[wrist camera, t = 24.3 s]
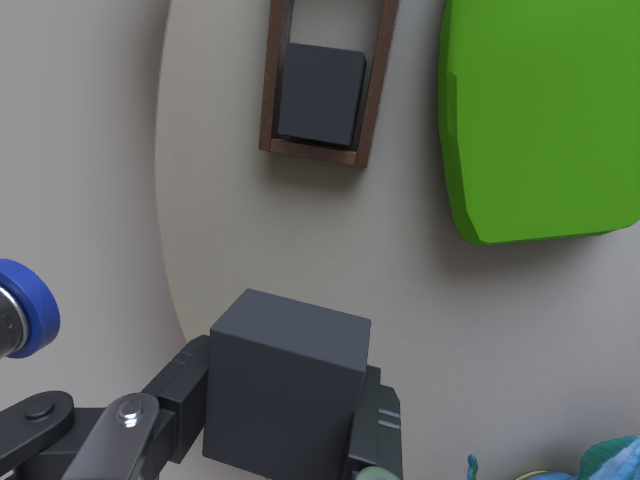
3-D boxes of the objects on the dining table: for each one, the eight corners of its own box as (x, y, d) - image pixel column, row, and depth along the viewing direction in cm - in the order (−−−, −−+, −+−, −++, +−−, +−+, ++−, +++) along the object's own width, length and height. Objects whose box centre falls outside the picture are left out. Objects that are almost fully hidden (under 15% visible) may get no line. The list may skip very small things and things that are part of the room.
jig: (267, 148, 23) (258, 149, 21) (288, -78, 19) (278, -99, 17) (368, 165, 22) (366, 167, 20) (413, -70, 18) (416, -91, 16)
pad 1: (289, 134, 23) (277, 133, 20) (298, 53, 21) (287, 42, 19) (352, 144, 22) (347, 145, 20) (366, 61, 20) (363, 51, 18)
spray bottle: (444, 239, 23) (409, -227, 16) (633, 220, 20) (673, -341, 14) (452, 252, 20) (412, -302, 14) (672, 232, 17) (745, -462, 11)
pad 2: (236, 397, 13) (201, 456, 11) (247, 287, 11) (209, 327, 9) (343, 430, 13) (332, 501, 10) (371, 318, 11) (366, 371, 8)
